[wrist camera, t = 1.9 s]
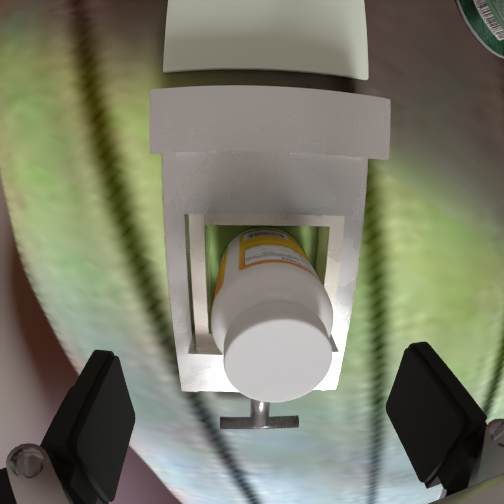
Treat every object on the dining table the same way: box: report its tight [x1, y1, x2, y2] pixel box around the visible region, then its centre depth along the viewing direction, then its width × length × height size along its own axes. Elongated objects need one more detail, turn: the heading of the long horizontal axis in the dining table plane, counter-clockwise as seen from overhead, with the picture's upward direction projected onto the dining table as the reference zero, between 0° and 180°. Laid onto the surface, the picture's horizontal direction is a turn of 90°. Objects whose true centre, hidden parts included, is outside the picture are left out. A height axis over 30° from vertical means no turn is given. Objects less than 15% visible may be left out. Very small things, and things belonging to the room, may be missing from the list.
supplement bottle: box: [211, 227, 334, 402], centre depth 15 cm, size 5×5×10 cm
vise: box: [150, 85, 390, 429], centre depth 18 cm, size 12×23×4 cm, turn 179°
